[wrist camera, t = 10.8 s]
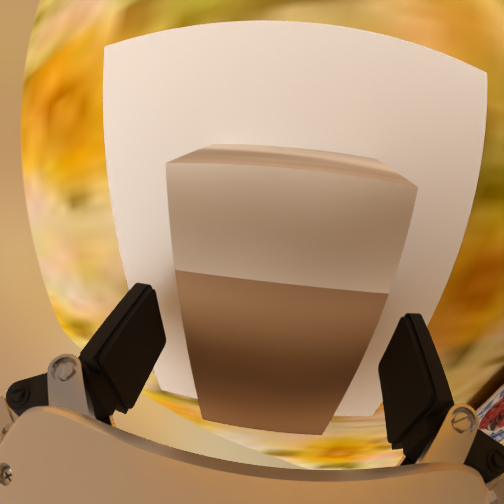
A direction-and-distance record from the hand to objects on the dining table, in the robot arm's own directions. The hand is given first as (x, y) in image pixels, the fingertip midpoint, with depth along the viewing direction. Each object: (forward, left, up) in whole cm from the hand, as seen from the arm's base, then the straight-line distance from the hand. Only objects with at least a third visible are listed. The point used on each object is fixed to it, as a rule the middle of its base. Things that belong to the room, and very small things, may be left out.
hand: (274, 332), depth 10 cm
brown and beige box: (0, 0, -3) cm, 3 cm away
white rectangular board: (0, 0, -3) cm, 3 cm away
